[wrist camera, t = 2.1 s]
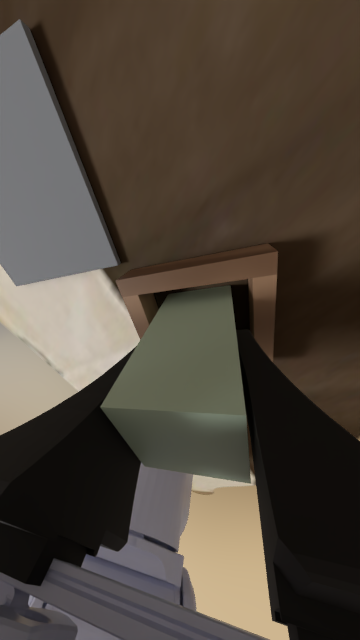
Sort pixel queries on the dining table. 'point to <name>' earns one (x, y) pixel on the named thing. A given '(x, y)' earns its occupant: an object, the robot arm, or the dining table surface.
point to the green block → (186, 390)
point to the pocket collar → (203, 271)
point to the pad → (42, 176)
